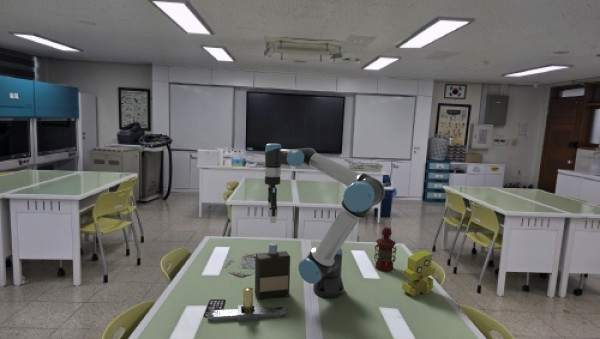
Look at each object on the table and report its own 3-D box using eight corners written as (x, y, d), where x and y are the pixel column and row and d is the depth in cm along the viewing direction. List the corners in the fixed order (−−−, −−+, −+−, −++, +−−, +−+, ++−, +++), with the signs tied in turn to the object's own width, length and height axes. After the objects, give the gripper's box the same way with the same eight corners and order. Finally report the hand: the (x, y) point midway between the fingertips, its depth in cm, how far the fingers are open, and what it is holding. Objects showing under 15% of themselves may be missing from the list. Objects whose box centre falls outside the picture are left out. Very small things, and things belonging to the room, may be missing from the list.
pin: (252, 313, 158) (252, 286, 156) (252, 318, 154) (253, 291, 152) (242, 313, 157) (243, 287, 156) (243, 318, 153) (243, 291, 152)
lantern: (386, 274, 203) (390, 221, 199) (369, 267, 212) (372, 216, 208) (399, 269, 211) (403, 218, 207) (381, 262, 220) (385, 213, 216)
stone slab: (286, 263, 214) (286, 261, 214) (239, 279, 191) (239, 277, 191) (258, 251, 233) (258, 249, 233) (212, 264, 210) (212, 262, 210)
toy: (409, 297, 177) (412, 257, 174) (401, 292, 182) (403, 253, 179) (433, 292, 183) (437, 253, 181) (425, 287, 188) (428, 249, 186)
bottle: (254, 292, 177) (254, 242, 173) (286, 289, 181) (287, 240, 178) (256, 300, 169) (257, 248, 166) (290, 296, 174) (291, 245, 170)
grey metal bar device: (285, 308, 162) (285, 302, 162) (287, 318, 155) (287, 311, 154) (208, 313, 157) (208, 306, 156) (207, 323, 149) (207, 316, 148)
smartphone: (202, 317, 153) (209, 299, 168) (202, 318, 153) (209, 300, 168) (220, 317, 154) (226, 299, 169) (220, 318, 154) (226, 300, 169)
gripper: (263, 172, 188) (262, 212, 191) (266, 180, 164) (266, 226, 167) (277, 172, 189) (276, 212, 192) (283, 180, 165) (282, 225, 168)
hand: (271, 218), depth 179 cm, fingers open, 13 cm apart
